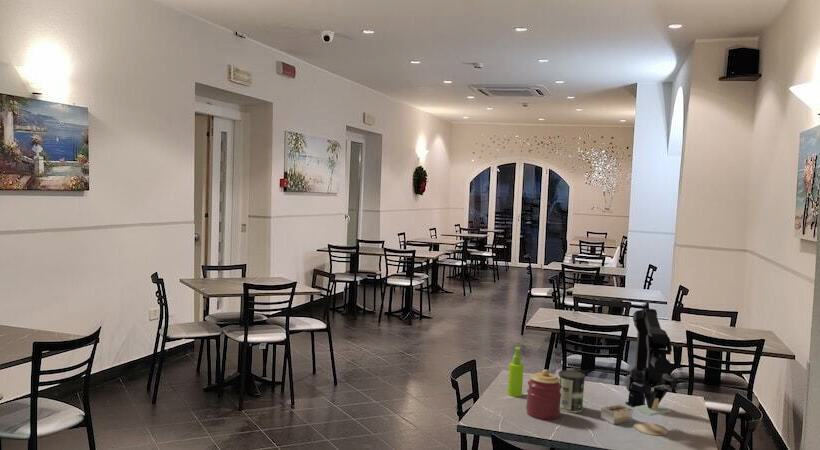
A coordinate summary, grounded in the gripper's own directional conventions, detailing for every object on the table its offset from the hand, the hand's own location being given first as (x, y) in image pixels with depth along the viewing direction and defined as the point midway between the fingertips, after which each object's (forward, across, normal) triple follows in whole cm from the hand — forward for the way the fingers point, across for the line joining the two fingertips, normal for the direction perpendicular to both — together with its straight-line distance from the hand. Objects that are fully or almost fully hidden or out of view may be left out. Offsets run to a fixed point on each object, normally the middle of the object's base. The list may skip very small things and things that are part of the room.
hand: (652, 407), depth 237 cm
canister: (+8, +28, -28) cm, 41 cm away
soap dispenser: (+9, +23, -51) cm, 57 cm away
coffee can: (+9, +13, -29) cm, 33 cm away
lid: (+1, 0, 0) cm, 1 cm away
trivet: (+8, 0, 0) cm, 8 cm away
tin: (+8, +5, -12) cm, 15 cm away
